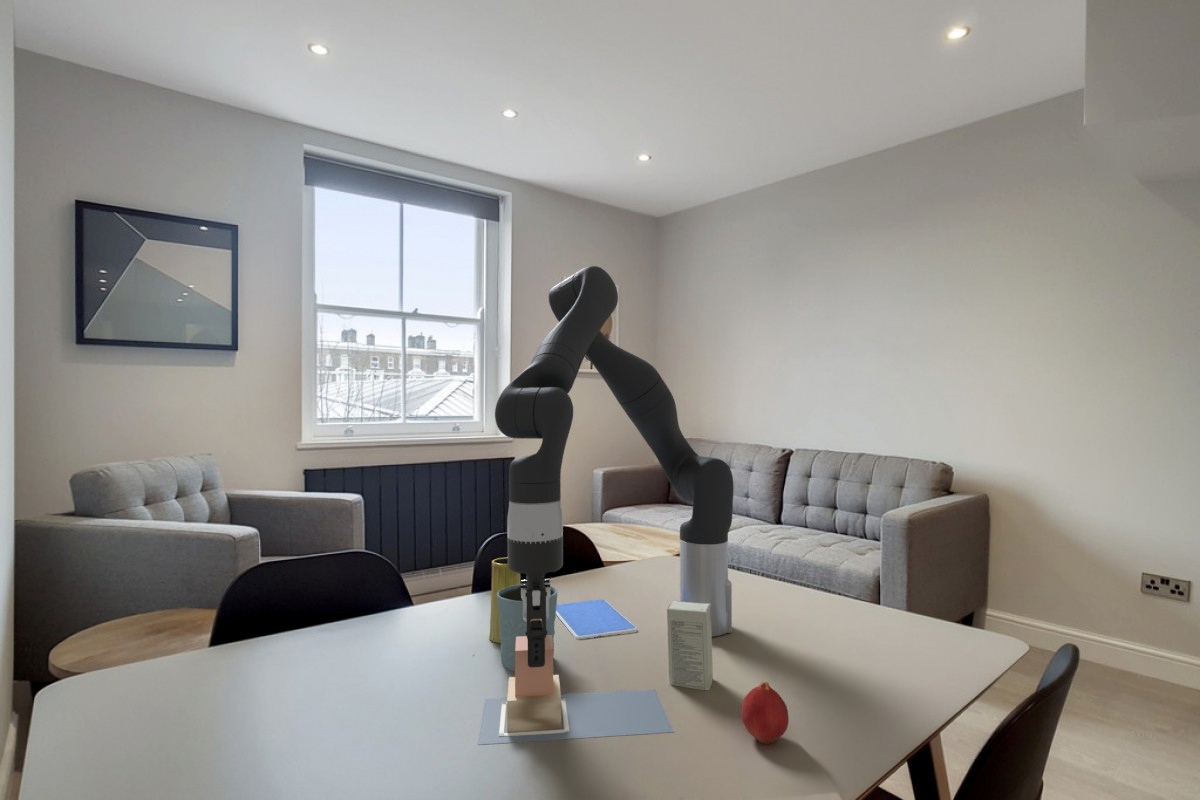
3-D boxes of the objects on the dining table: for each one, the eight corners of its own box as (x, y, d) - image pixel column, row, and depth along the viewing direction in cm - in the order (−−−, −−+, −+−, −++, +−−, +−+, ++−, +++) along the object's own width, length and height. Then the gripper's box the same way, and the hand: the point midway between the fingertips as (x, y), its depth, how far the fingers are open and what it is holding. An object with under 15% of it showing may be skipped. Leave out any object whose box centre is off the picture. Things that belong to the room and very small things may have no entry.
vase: (525, 632, 114) (525, 557, 115) (518, 644, 108) (518, 565, 109) (494, 631, 115) (494, 556, 115) (485, 643, 109) (485, 564, 109)
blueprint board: (654, 693, 89) (654, 688, 89) (674, 736, 78) (674, 731, 78) (485, 702, 87) (485, 698, 87) (477, 749, 75) (477, 743, 75)
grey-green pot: (507, 681, 93) (508, 604, 94) (488, 658, 102) (488, 587, 103) (567, 669, 98) (567, 595, 98) (543, 647, 107) (544, 579, 107)
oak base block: (558, 702, 85) (558, 674, 85) (561, 728, 78) (561, 697, 78) (508, 705, 84) (508, 677, 85) (507, 732, 78) (507, 700, 78)
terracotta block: (551, 677, 84) (551, 635, 84) (553, 694, 79) (553, 649, 79) (515, 679, 84) (516, 636, 84) (515, 696, 79) (515, 650, 79)
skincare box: (713, 682, 93) (713, 603, 93) (709, 694, 89) (708, 612, 89) (672, 676, 95) (672, 599, 95) (666, 688, 91) (666, 607, 91)
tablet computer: (639, 634, 114) (639, 627, 115) (576, 643, 110) (576, 636, 110) (604, 604, 133) (604, 598, 133) (549, 610, 128) (549, 604, 128)
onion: (735, 732, 78) (735, 671, 79) (778, 730, 79) (777, 669, 79) (750, 758, 73) (749, 691, 73) (796, 756, 73) (795, 690, 73)
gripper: (566, 544, 75) (566, 674, 75) (559, 522, 89) (560, 632, 89) (505, 546, 74) (506, 677, 74) (509, 524, 88) (509, 634, 88)
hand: (535, 652), depth 81 cm, fingers open, 8 cm apart
